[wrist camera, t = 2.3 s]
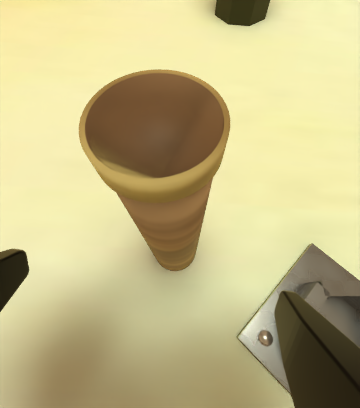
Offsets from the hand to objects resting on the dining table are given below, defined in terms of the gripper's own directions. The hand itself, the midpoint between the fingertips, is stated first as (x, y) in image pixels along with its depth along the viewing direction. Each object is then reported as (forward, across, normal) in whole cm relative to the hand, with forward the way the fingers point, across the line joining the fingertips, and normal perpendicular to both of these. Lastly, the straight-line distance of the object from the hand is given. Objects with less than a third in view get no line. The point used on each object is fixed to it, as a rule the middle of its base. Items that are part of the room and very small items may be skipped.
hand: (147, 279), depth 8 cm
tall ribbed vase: (+10, 0, +6) cm, 12 cm away
